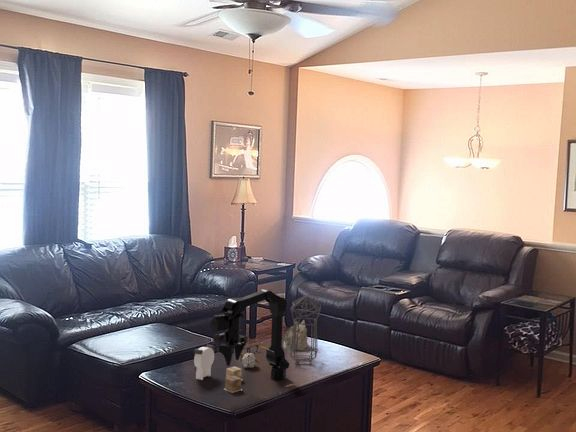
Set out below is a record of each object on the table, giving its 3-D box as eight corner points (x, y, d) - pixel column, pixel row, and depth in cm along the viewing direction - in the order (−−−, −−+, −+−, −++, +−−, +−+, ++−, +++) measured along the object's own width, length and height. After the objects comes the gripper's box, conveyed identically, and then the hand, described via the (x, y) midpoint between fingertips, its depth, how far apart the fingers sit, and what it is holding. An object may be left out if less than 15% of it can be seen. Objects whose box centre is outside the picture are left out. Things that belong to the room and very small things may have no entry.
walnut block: (234, 386, 275) (234, 375, 275) (240, 389, 272) (241, 378, 271) (225, 388, 272) (225, 377, 271) (231, 392, 268) (232, 380, 268)
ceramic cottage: (294, 339, 357) (294, 314, 354) (313, 347, 344) (313, 321, 342) (273, 345, 347) (273, 320, 345) (292, 354, 334) (292, 327, 332)
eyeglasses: (256, 351, 334) (256, 344, 333) (276, 357, 324) (277, 349, 324) (238, 357, 323) (238, 349, 322) (258, 363, 313) (258, 355, 313)
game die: (244, 375, 304) (235, 357, 307) (259, 367, 307) (250, 349, 310) (248, 372, 296) (238, 353, 299) (263, 363, 299) (253, 345, 302)
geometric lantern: (319, 358, 323) (322, 293, 319) (317, 369, 307) (320, 300, 304) (289, 356, 324) (292, 291, 321) (286, 366, 308) (289, 298, 305)
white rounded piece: (201, 373, 294) (202, 342, 293) (221, 377, 289) (222, 346, 288) (186, 380, 284) (186, 348, 283) (206, 384, 279) (207, 352, 278)
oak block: (234, 376, 288) (235, 366, 288) (241, 379, 284) (241, 369, 284) (226, 379, 285) (226, 368, 284) (232, 381, 281) (232, 371, 281)
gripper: (225, 321, 280) (225, 354, 281) (207, 331, 263) (206, 366, 264) (248, 323, 276) (247, 357, 278) (230, 334, 259) (230, 370, 260)
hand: (232, 362), depth 270 cm, fingers open, 9 cm apart
